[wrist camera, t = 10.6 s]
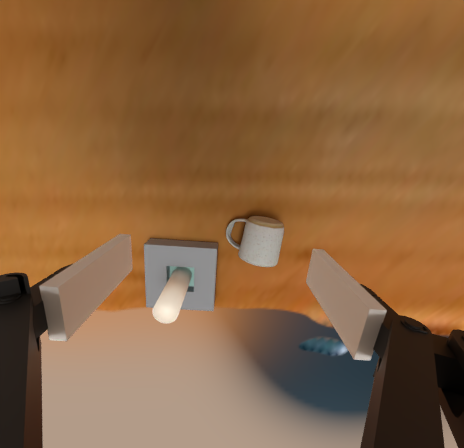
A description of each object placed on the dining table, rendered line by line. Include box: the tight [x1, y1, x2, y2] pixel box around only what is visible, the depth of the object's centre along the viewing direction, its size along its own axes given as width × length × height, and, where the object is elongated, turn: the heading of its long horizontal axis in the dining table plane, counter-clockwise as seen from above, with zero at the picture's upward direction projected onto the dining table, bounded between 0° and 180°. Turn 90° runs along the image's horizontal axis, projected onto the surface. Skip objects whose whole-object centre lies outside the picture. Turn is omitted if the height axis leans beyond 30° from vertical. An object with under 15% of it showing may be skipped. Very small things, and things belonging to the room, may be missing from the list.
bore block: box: [144, 238, 218, 311], centre depth 45 cm, size 14×14×4 cm
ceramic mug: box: [226, 216, 284, 267], centre depth 41 cm, size 11×8×8 cm
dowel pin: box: [153, 267, 192, 323], centre depth 39 cm, size 4×4×12 cm
